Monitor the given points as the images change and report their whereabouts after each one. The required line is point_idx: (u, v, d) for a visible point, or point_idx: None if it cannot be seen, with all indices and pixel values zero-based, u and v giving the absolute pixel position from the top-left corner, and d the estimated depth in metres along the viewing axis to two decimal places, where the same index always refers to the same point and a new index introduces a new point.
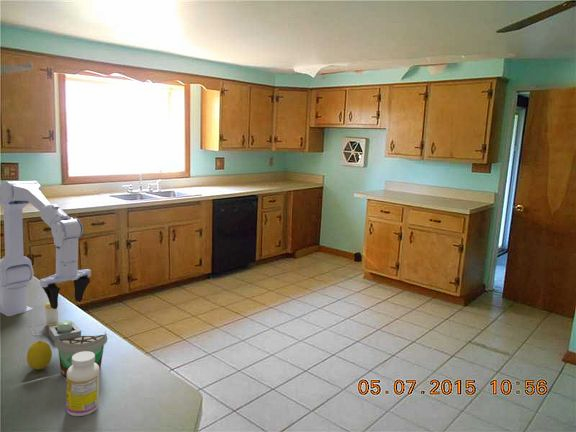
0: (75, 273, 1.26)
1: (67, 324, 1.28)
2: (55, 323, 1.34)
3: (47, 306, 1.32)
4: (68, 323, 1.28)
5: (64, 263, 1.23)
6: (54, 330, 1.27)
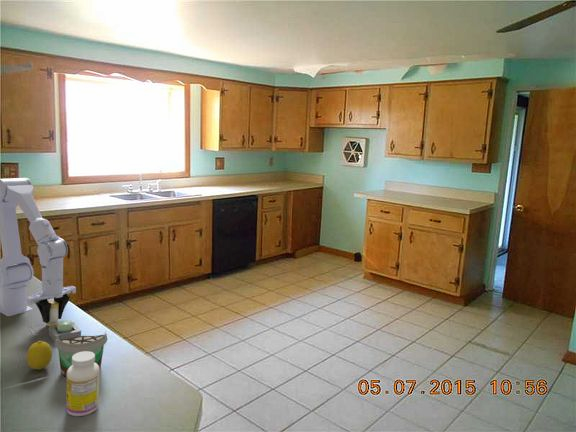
0: (60, 291, 1.33)
1: (67, 324, 1.28)
2: (55, 323, 1.34)
3: None
4: (68, 323, 1.28)
5: (49, 282, 1.30)
6: (54, 330, 1.27)
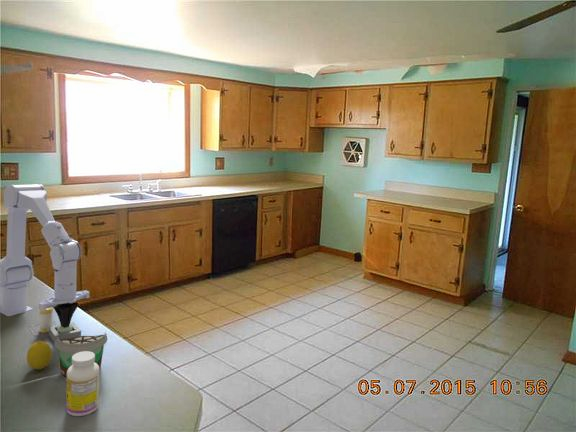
0: (74, 295, 1.26)
1: None
2: None
3: (41, 311, 1.28)
4: None
5: (63, 286, 1.23)
6: (54, 330, 1.27)
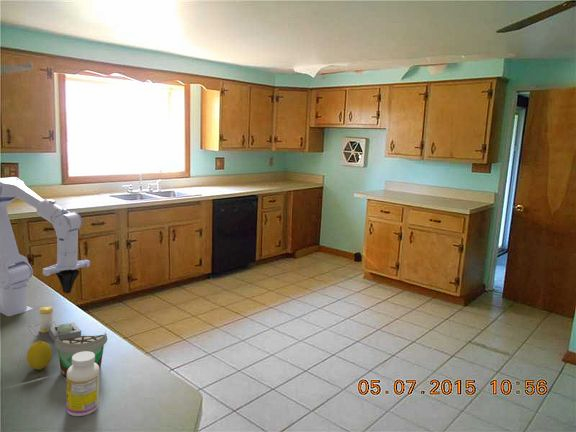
0: (75, 263, 1.35)
1: (67, 328, 1.28)
2: None
3: (41, 311, 1.28)
4: (68, 327, 1.28)
5: (65, 253, 1.32)
6: (54, 330, 1.27)
